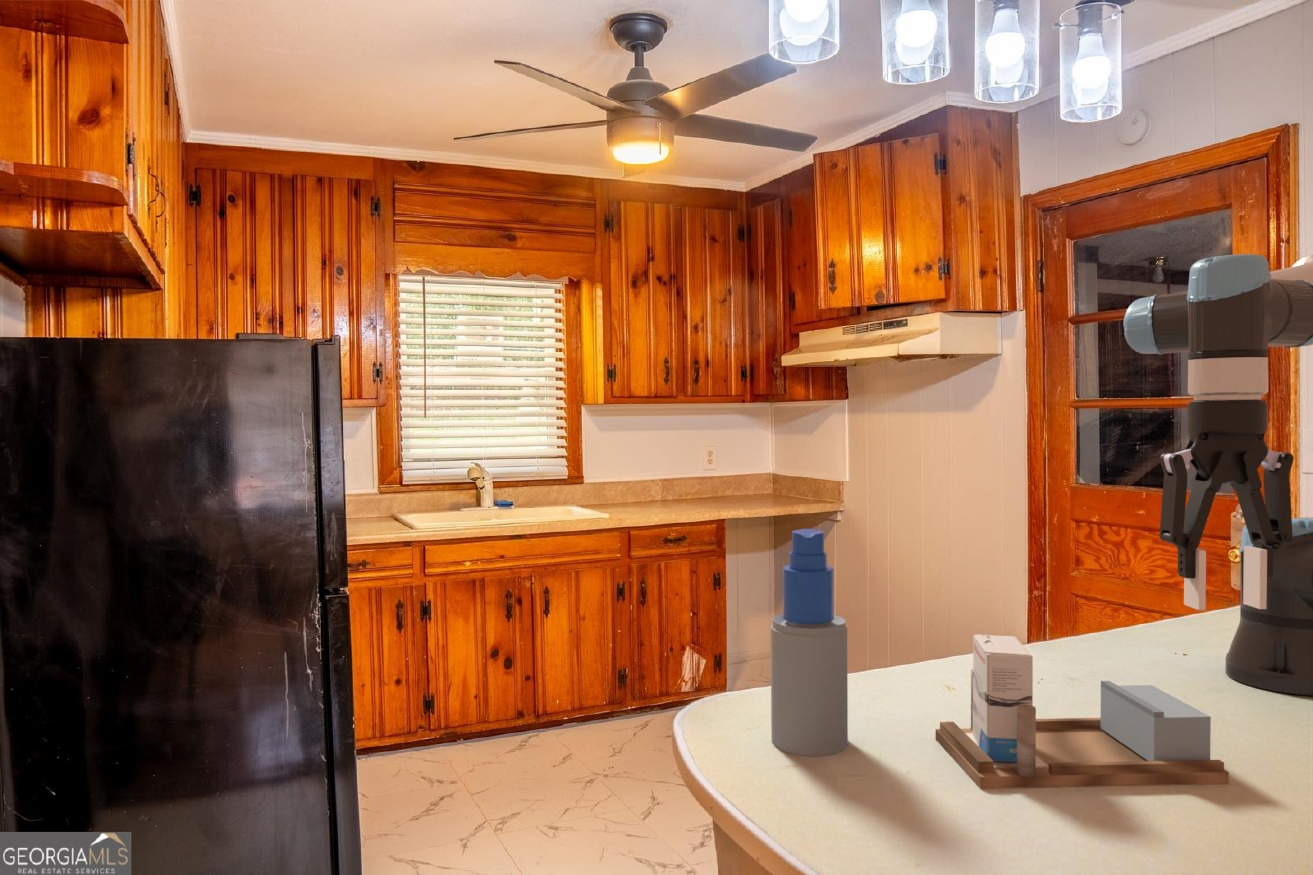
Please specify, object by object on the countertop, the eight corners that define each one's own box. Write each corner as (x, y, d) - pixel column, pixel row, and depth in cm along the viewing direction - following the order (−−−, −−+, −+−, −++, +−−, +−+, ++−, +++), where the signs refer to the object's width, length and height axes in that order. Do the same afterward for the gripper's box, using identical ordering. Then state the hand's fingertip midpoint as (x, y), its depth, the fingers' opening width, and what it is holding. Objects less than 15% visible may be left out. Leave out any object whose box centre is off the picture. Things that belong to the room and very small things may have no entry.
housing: (1151, 727, 107) (1151, 679, 107) (1210, 763, 96) (1210, 711, 96) (1100, 728, 107) (1100, 680, 107) (1153, 764, 96) (1154, 712, 96)
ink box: (1034, 764, 96) (1034, 654, 96) (985, 762, 97) (985, 652, 97) (1016, 736, 105) (1016, 634, 105) (971, 734, 106) (971, 633, 105)
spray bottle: (779, 725, 113) (778, 524, 112) (852, 732, 110) (851, 527, 110) (764, 751, 105) (762, 534, 104) (842, 760, 102) (841, 537, 101)
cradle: (1150, 733, 109) (1150, 665, 109) (1231, 785, 94) (1231, 706, 94) (934, 737, 108) (934, 669, 108) (981, 790, 94) (981, 711, 93)
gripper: (1287, 397, 104) (1285, 598, 105) (1122, 399, 104) (1121, 601, 105) (1338, 396, 97) (1335, 613, 98) (1160, 398, 96) (1159, 615, 97)
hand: (1224, 606), depth 101 cm, fingers open, 6 cm apart
